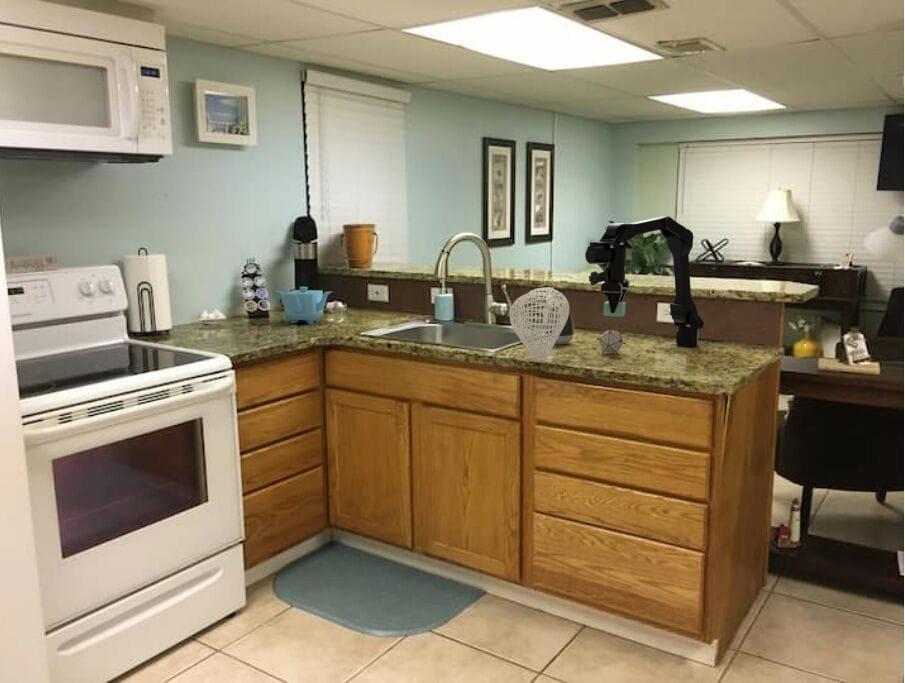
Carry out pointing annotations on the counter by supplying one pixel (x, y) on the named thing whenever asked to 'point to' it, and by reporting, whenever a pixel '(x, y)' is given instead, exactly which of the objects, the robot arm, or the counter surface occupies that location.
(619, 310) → the teal block
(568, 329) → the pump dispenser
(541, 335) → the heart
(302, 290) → the teakettle
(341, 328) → the counter surface
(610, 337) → the game die
